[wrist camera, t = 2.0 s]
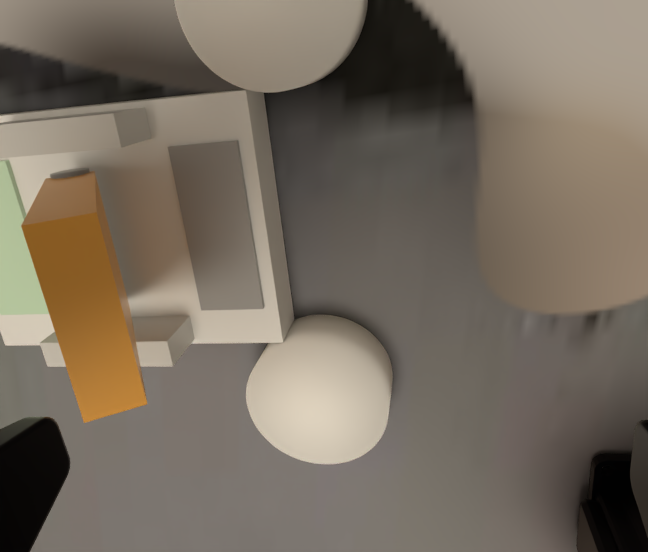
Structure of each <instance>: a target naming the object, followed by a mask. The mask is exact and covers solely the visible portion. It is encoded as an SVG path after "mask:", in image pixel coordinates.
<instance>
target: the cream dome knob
mask: <svg viewBox="0 0 648 552" xmlns="http://www.w3.org/2000/svg"><path fill="white" fill-rule="evenodd" d="M392 383H393V370H392V365H391V362H390V359H389V356H388V354H387V352H386V350H385V348H384V347H383V346H382V344H381V343H380V341H379V340H378V339H377V338H376V337H375V336H374V335H373V334H372V333H370V332H369V331H368V330H367V329H365V328H364V327H362V326H361V325H359V324H357V323H355V322H353V321H351V320H348V319H345V318H342V317H338V316H333V315H310V316H305V317H301V318H298V319H296V320H294V321H293V323H292V325H291V327H290V329H289V331H288V333H287V335H286V337H285V340H284V342H283V343H268V344H267V346H266V348H265V349H264V351H263V353H262V355H261V356H260V358H259V360H258V361H257V363H256V365H255V367H254V368H253V370H252V372H251V374H250V376H249V380H248V383H247V389H246V400H247V407H248V410H249V413H250V416H251V418H252V420H253V422H254V424H255V426H256V427H257V429H258V430H259V431H260V433H261V434H262V435H263V436H264V437H265V438H266V439H267V440H268V441H269V442H270V443H271V444H272V445H273V446H275V447H276V448H277V449H279V450H280V451H282V452H284V453H286V454H287V455H289V456H291V457H294V458H296V459H299V460H302V461H306V462H310V463H316V464H338V463H344V462H348V461H351V460H354V459H356V458H358V457H360V456H362V455H364V454H365V453H367V452H368V451H369V450H371V449H372V448H373V447H374V446H375V445H376V444H377V443H378V441H379V440H380V438H381V437H382V435H383V433H384V431H385V429H386V426H387V422H388V415H389V407H390V399H391V392H392Z"/></svg>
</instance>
